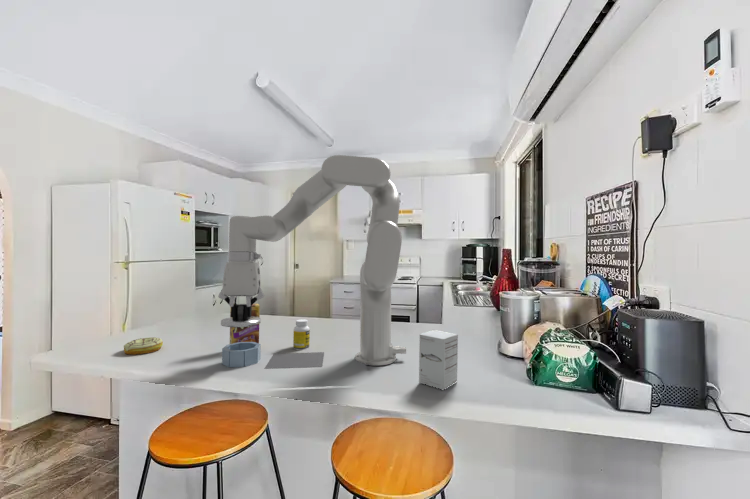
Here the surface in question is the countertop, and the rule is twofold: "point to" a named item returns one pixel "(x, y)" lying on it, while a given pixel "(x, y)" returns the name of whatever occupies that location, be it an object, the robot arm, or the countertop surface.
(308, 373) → the countertop surface
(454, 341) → the supplement box
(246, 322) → the lid
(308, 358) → the mat
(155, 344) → the decorated donut
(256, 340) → the candy box
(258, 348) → the bowl
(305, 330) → the supplement bottle
